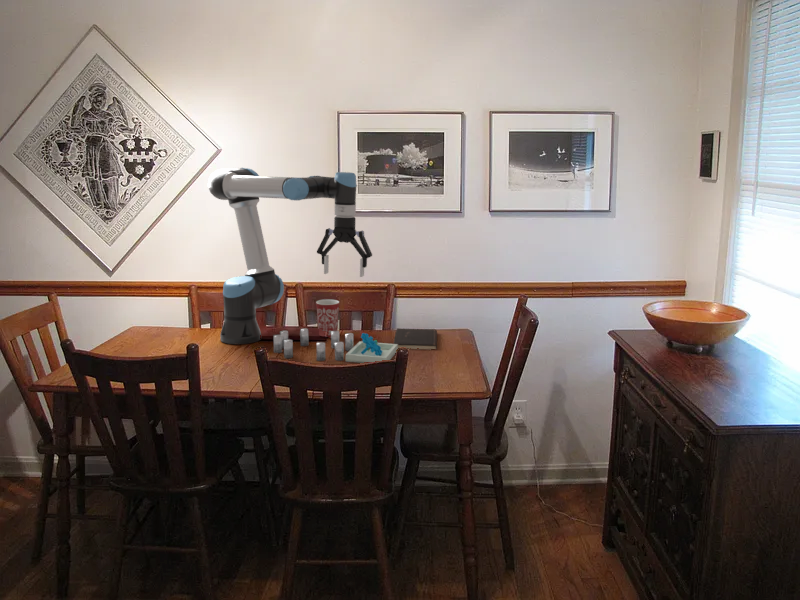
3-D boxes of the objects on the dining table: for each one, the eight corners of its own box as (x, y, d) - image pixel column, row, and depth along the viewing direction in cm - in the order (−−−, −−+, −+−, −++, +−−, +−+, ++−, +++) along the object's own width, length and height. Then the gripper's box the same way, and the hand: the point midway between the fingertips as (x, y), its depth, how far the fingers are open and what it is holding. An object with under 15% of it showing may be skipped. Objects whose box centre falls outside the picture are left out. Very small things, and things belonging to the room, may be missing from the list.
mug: (336, 339, 277) (335, 304, 274) (313, 337, 278) (312, 303, 275) (344, 331, 289) (344, 298, 286) (322, 329, 290) (322, 296, 287)
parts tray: (345, 361, 249) (345, 354, 248) (359, 347, 265) (359, 341, 265) (386, 364, 246) (386, 357, 245) (397, 350, 262) (397, 344, 262)
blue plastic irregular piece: (378, 355, 248) (360, 333, 250) (366, 366, 250) (348, 344, 251) (387, 351, 259) (370, 329, 260) (376, 361, 260) (358, 340, 262)
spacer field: (266, 356, 253) (266, 340, 252) (287, 342, 271) (286, 327, 270) (340, 362, 247) (340, 345, 246) (356, 347, 265) (356, 332, 264)
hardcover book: (393, 350, 265) (393, 344, 265) (396, 333, 288) (396, 328, 287) (436, 351, 264) (436, 345, 264) (436, 334, 287) (436, 329, 286)
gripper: (308, 215, 256) (307, 273, 261) (375, 219, 251) (374, 279, 256) (315, 213, 263) (315, 270, 268) (381, 217, 258) (379, 275, 263)
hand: (343, 274), depth 262 cm, fingers open, 13 cm apart
